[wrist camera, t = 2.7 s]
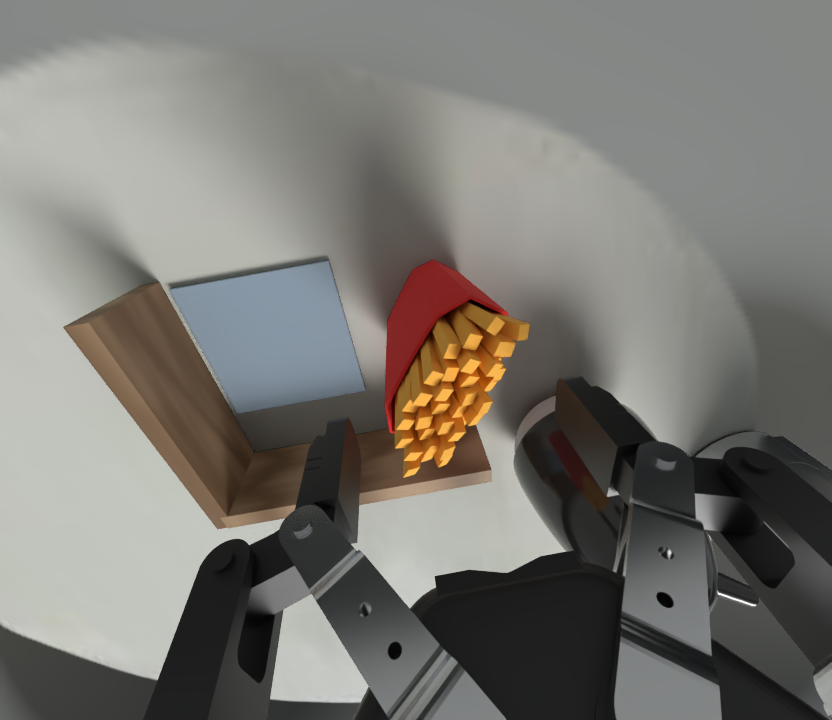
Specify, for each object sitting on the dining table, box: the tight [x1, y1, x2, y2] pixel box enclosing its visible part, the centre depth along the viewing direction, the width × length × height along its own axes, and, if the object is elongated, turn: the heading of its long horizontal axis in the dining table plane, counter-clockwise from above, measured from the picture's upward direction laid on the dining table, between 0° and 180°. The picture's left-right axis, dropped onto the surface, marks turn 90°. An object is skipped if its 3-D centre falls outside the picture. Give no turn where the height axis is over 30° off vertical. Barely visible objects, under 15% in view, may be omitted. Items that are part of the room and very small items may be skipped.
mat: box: [169, 260, 366, 414], centre depth 24 cm, size 10×10×1 cm
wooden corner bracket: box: [63, 282, 492, 529], centre depth 23 cm, size 20×16×6 cm
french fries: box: [385, 260, 530, 478], centre depth 18 cm, size 8×4×12 cm, turn 153°
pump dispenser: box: [514, 395, 759, 613], centre depth 24 cm, size 10×10×15 cm
